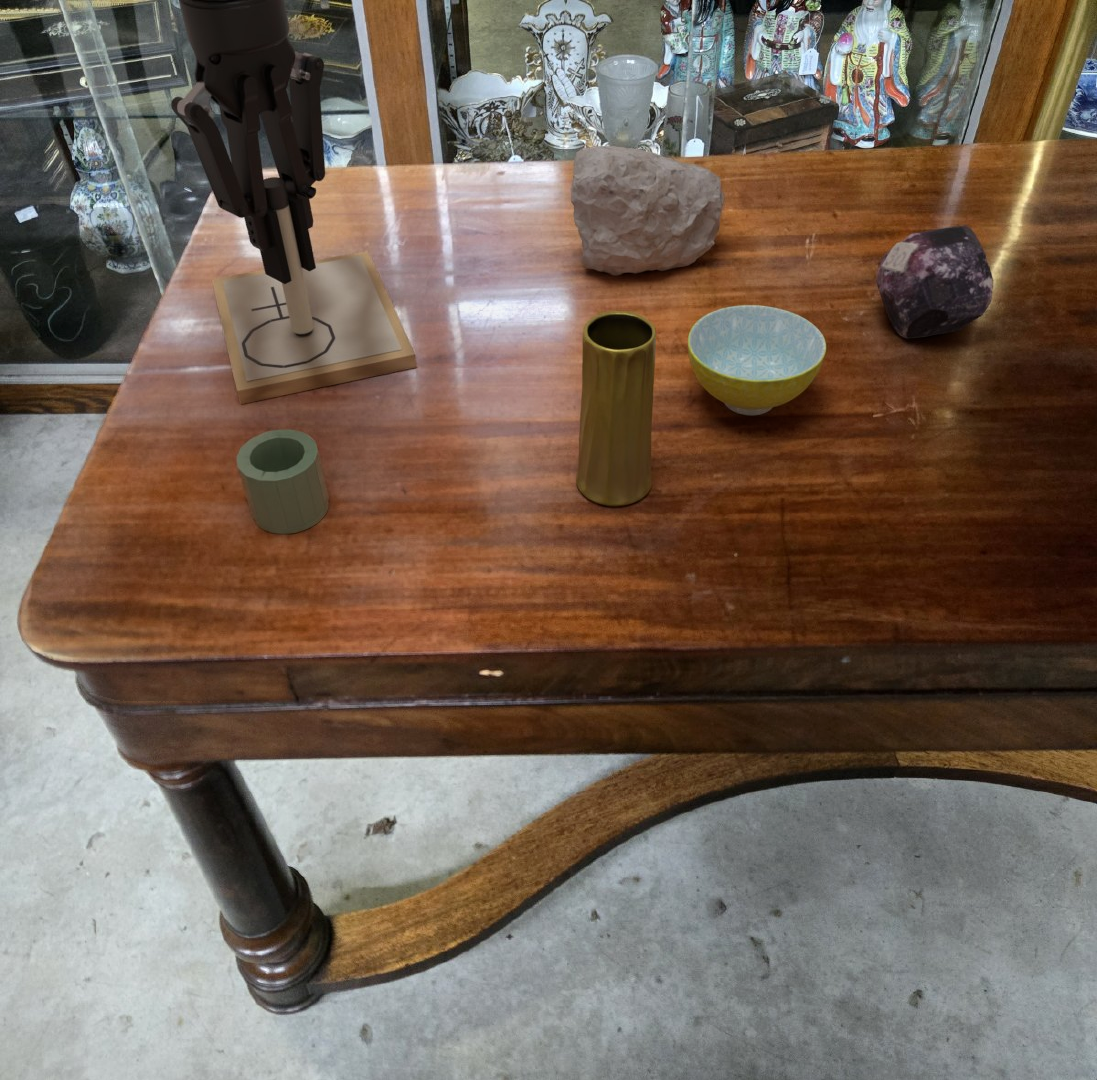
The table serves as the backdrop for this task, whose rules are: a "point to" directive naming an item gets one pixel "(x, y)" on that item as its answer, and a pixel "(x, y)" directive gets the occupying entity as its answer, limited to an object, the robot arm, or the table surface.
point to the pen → (290, 259)
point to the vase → (616, 408)
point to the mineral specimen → (935, 282)
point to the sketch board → (335, 342)
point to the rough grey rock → (642, 209)
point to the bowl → (755, 356)
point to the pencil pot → (283, 481)
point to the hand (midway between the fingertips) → (290, 270)
